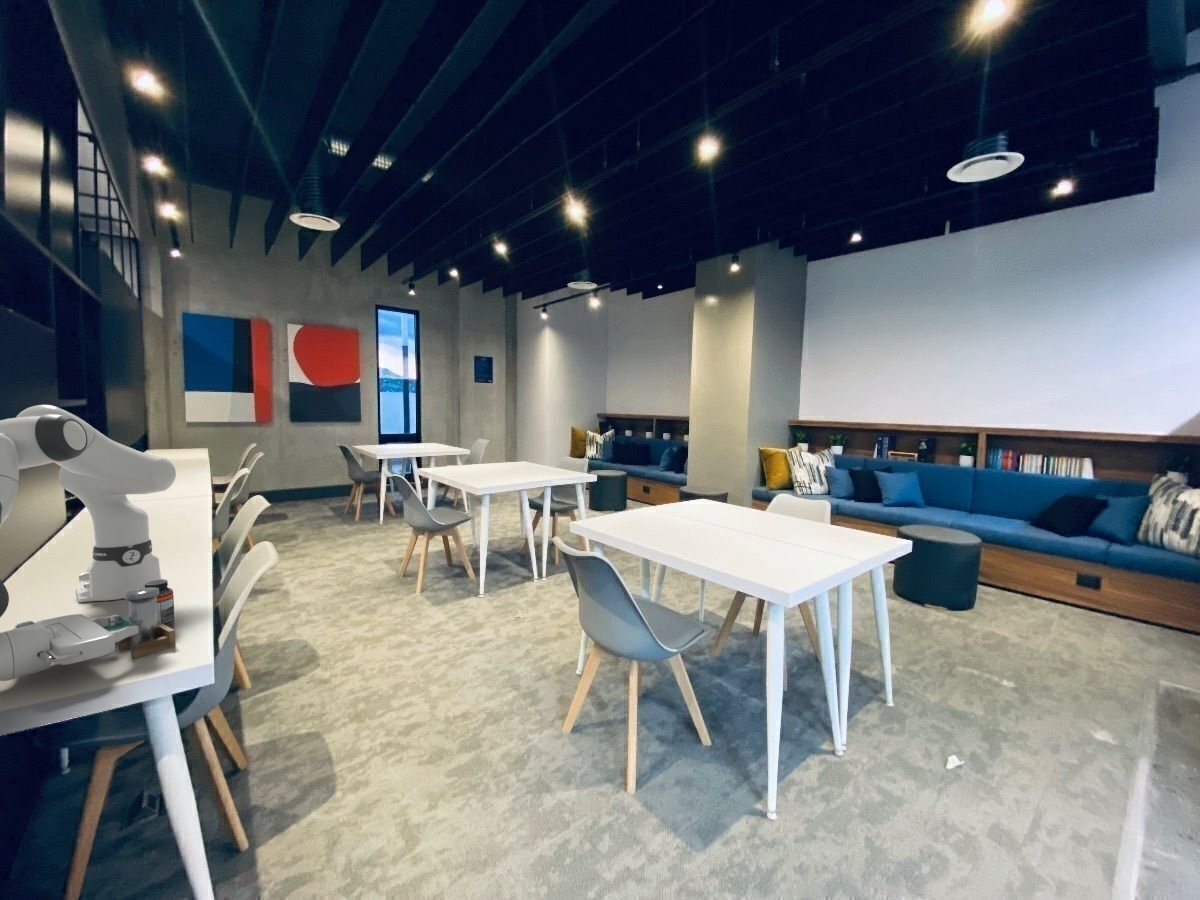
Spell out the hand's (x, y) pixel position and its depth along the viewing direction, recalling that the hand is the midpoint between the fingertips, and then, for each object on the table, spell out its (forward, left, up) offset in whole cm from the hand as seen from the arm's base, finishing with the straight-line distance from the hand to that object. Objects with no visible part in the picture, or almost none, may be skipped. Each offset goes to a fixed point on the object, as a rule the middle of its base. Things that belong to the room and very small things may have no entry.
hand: (128, 623), depth 106 cm
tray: (-13, -1, -6) cm, 14 cm away
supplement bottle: (-10, +8, -7) cm, 14 cm away
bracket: (0, +2, -6) cm, 7 cm away
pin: (0, +2, -6) cm, 7 cm away
